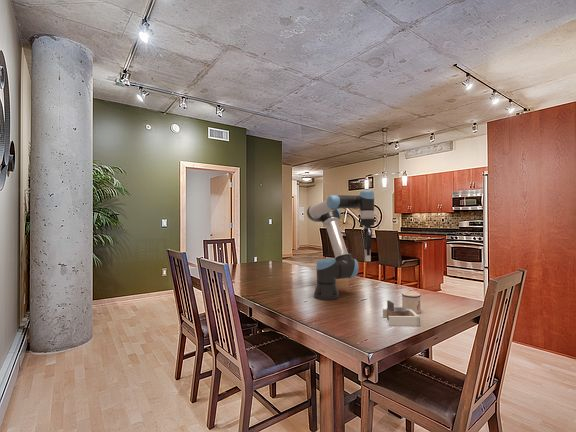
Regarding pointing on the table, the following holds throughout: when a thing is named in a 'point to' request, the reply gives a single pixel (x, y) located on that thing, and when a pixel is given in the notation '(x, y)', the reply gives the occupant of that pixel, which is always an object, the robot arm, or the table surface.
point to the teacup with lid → (411, 300)
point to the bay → (403, 319)
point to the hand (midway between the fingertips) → (367, 261)
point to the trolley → (395, 310)
